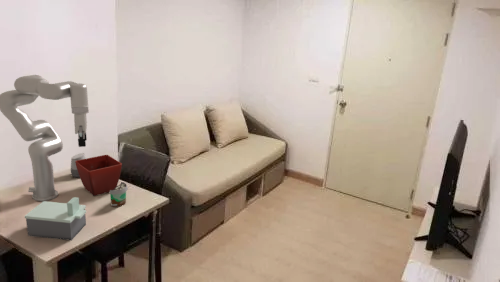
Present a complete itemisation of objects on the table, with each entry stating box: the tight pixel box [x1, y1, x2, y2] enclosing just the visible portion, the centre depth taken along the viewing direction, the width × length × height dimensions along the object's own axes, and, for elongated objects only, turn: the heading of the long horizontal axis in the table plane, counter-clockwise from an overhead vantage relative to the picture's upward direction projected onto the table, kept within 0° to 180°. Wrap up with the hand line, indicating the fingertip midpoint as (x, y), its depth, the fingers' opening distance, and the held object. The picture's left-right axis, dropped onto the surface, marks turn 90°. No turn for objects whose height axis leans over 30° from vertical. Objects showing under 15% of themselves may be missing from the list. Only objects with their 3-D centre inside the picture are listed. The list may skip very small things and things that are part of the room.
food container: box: [109, 181, 129, 208], centre depth 210 cm, size 12×6×10 cm, turn 168°
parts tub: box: [25, 208, 87, 241], centre depth 182 cm, size 20×14×9 cm
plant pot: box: [75, 154, 123, 197], centre depth 223 cm, size 19×19×17 cm
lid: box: [24, 196, 87, 223], centre depth 179 cm, size 23×15×8 cm, turn 86°
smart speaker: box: [70, 152, 86, 178], centre depth 240 cm, size 10×9×14 cm
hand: (82, 143), depth 195 cm, fingers open, 9 cm apart
